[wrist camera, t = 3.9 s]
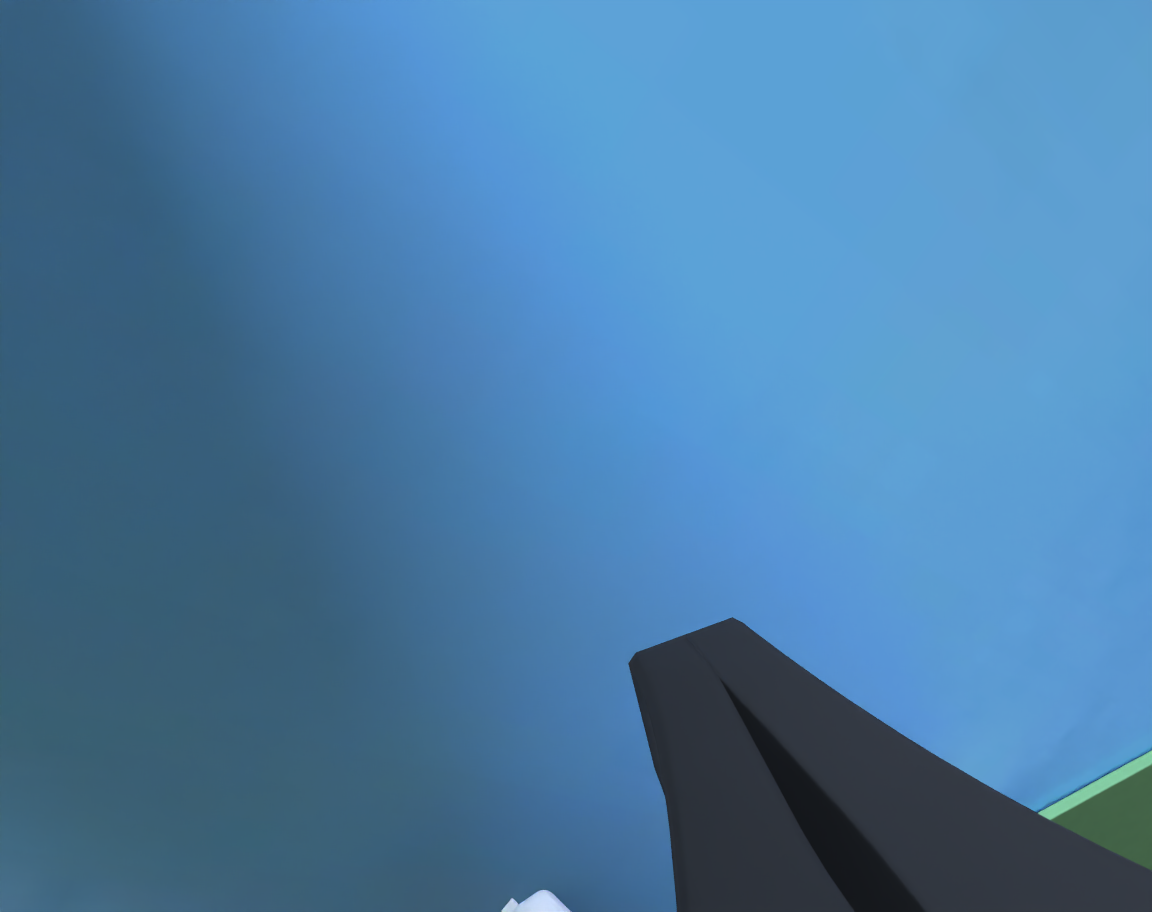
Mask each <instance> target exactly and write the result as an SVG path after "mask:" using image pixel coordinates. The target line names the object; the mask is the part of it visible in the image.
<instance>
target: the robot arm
mask: <svg viewBox="0 0 1152 912" xmlns="http://www.w3.org/2000/svg"><path fill="white" fill-rule="evenodd" d="M628 664H629V668H630V672H631V676H632V680H633V684H634V688H635V692H636V696H637V700H638V704H639V708H640V712H641V716H642V720H643V724H644V728H645V732H646V736H647V740H648V744H649V748H650V752H651V756H652V760H653V764H654V768H655V771H656V773H657V776H658V778H659V781H660V784H661V786H662V789H663V792H664V795H665V799H666V805H667V812H668V819H669V828H670V838H671V849H672V860H673V871H674V881H675V892H676V904H677V912H1152V870H1150V869H1148V868H1146V867H1144V866H1142V865H1140V864H1137V863H1135V862H1133V861H1131V860H1129V859H1127V858H1125V857H1123V856H1121V855H1119V854H1117V853H1114V852H1112V851H1110V850H1108V849H1106V848H1104V847H1102V846H1100V845H1098V844H1096V843H1094V842H1092V841H1090V840H1088V839H1086V838H1085V837H1083V836H1081V835H1079V834H1077V833H1075V832H1073V831H1071V830H1069V829H1067V828H1065V827H1063V826H1061V825H1059V824H1057V823H1055V822H1053V821H1051V820H1049V819H1047V818H1045V817H1044V816H1042V815H1040V814H1038V813H1036V812H1034V811H1032V810H1031V809H1029V808H1027V807H1025V806H1023V805H1021V804H1019V803H1018V802H1016V801H1014V800H1012V799H1010V798H1009V797H1007V796H1005V795H1003V794H1001V793H1000V792H998V791H996V790H994V789H992V788H991V787H989V786H987V785H985V784H984V783H982V782H980V781H979V780H977V779H975V778H973V777H972V776H970V775H968V774H967V773H965V772H963V771H961V770H960V769H958V768H956V767H955V766H953V765H951V764H949V763H948V762H946V761H944V760H943V759H941V758H939V757H938V756H936V755H934V754H933V753H931V752H929V751H928V750H926V749H925V748H923V747H921V746H920V745H918V744H916V743H915V742H913V741H912V740H910V739H908V738H907V737H905V736H904V735H902V734H901V733H899V732H897V731H896V730H894V729H893V728H891V727H890V726H888V725H887V724H885V723H884V722H882V721H881V720H879V719H877V718H876V717H874V716H873V715H871V714H870V713H868V712H867V711H865V710H864V709H862V708H861V707H859V706H858V705H856V704H854V703H853V702H851V701H850V700H848V699H847V698H846V697H844V696H843V695H841V694H840V693H838V692H837V691H835V690H834V689H832V688H831V687H829V686H828V685H827V684H825V683H824V682H822V681H821V680H819V679H818V678H817V677H815V676H814V675H812V674H811V673H810V672H808V671H807V670H805V669H804V668H803V667H801V666H800V665H798V664H797V663H796V662H794V661H793V660H792V659H790V658H789V657H787V656H786V655H785V654H783V653H782V652H781V651H779V650H778V649H777V648H775V647H774V646H773V645H771V644H770V643H769V642H767V641H766V640H765V639H763V638H762V637H761V636H759V635H758V634H757V633H755V632H754V631H753V630H751V629H750V628H749V627H748V626H746V625H745V624H744V623H742V622H740V621H738V620H736V619H734V618H730V619H727V620H724V621H722V622H719V623H716V624H713V625H711V626H708V627H705V628H702V629H700V630H697V631H694V632H691V633H689V634H686V635H683V636H680V637H678V638H675V639H672V640H669V641H667V642H664V643H661V644H658V645H656V646H653V647H650V648H647V649H645V650H642V651H639V652H636V653H635V655H634V656H633V658H632V659H631V660H630V662H629V663H628Z"/></svg>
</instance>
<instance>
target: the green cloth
mask: <svg viewBox="0 0 1152 912" xmlns="http://www.w3.org/2000/svg"><path fill="white" fill-rule="evenodd" d="M1038 814H1040V815H1042V816H1044V817H1045V818H1047V819H1049V820H1051V821H1053V822H1055V823H1057V824H1059V825H1061V826H1063V827H1065V828H1067V829H1069V830H1071V831H1073V832H1075V833H1077V834H1079V835H1081V836H1083V837H1085V838H1086V839H1088V840H1090V841H1092V842H1094V843H1096V844H1098V845H1100V846H1102V847H1104V848H1106V849H1108V850H1110V851H1112V852H1114V853H1117V854H1119V855H1121V856H1123V857H1125V858H1127V859H1129V860H1131V861H1133V862H1135V863H1137V864H1140V865H1142V866H1144V867H1146V868H1148V869H1150V870H1152V751H1150V752H1148V753H1146V754H1144V755H1143V756H1141V757H1139V758H1137V759H1135V760H1133V761H1132V762H1130V763H1128V764H1126V765H1124V766H1122V767H1121V768H1119V769H1117V770H1115V771H1113V772H1111V773H1110V774H1108V775H1106V776H1104V777H1102V778H1101V779H1099V780H1097V781H1095V782H1093V783H1091V784H1090V785H1088V786H1086V787H1084V788H1082V789H1080V790H1079V791H1077V792H1075V793H1073V794H1071V795H1069V796H1068V797H1066V798H1064V799H1062V800H1060V801H1059V802H1057V803H1055V804H1053V805H1051V806H1049V807H1048V808H1046V809H1044V810H1042V811H1040V812H1038Z"/></svg>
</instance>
